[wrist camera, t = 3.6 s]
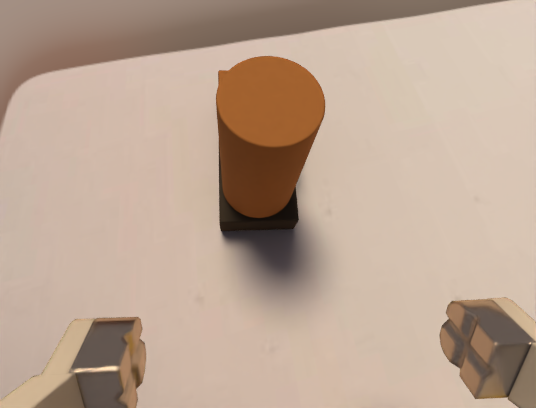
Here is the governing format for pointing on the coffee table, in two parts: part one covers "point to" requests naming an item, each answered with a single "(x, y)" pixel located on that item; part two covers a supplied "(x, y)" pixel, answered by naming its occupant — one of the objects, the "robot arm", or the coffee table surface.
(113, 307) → the coffee table surface
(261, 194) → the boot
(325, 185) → the coffee table surface
